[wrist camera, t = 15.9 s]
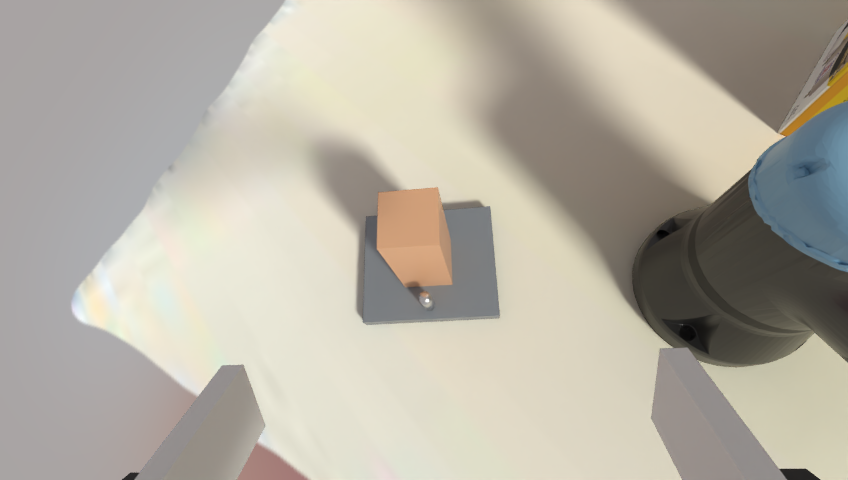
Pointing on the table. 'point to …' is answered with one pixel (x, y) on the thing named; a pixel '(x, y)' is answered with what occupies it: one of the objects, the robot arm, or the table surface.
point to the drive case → (415, 237)
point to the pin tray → (444, 302)
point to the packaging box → (822, 84)
